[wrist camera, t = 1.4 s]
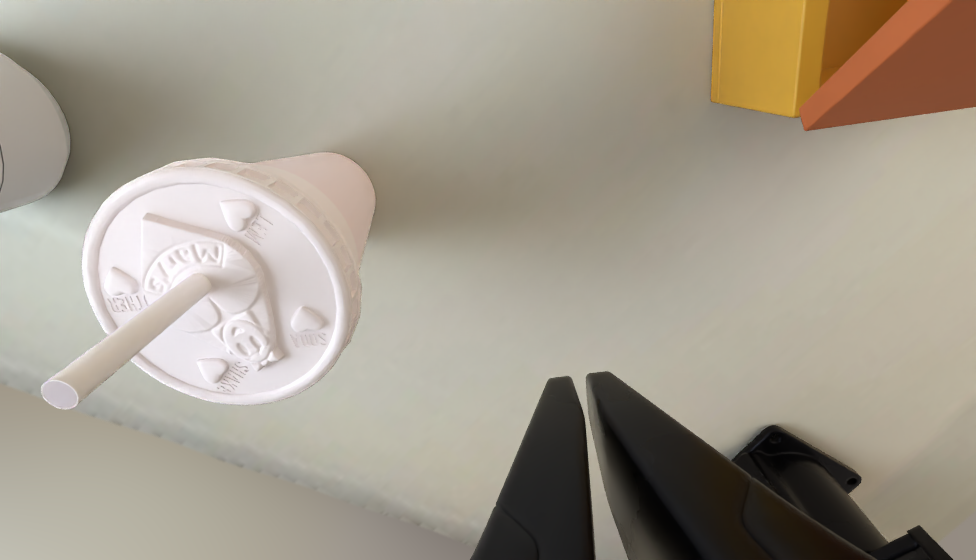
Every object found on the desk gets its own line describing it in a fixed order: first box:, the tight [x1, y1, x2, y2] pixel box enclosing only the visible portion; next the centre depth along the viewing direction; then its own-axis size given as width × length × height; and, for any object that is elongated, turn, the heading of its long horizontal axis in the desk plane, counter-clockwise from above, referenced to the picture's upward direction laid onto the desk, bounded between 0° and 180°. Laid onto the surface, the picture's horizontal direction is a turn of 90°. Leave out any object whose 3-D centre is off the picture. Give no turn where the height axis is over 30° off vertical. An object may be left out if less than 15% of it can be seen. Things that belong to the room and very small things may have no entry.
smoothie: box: [41, 152, 376, 409], centre depth 14 cm, size 6×6×14 cm
